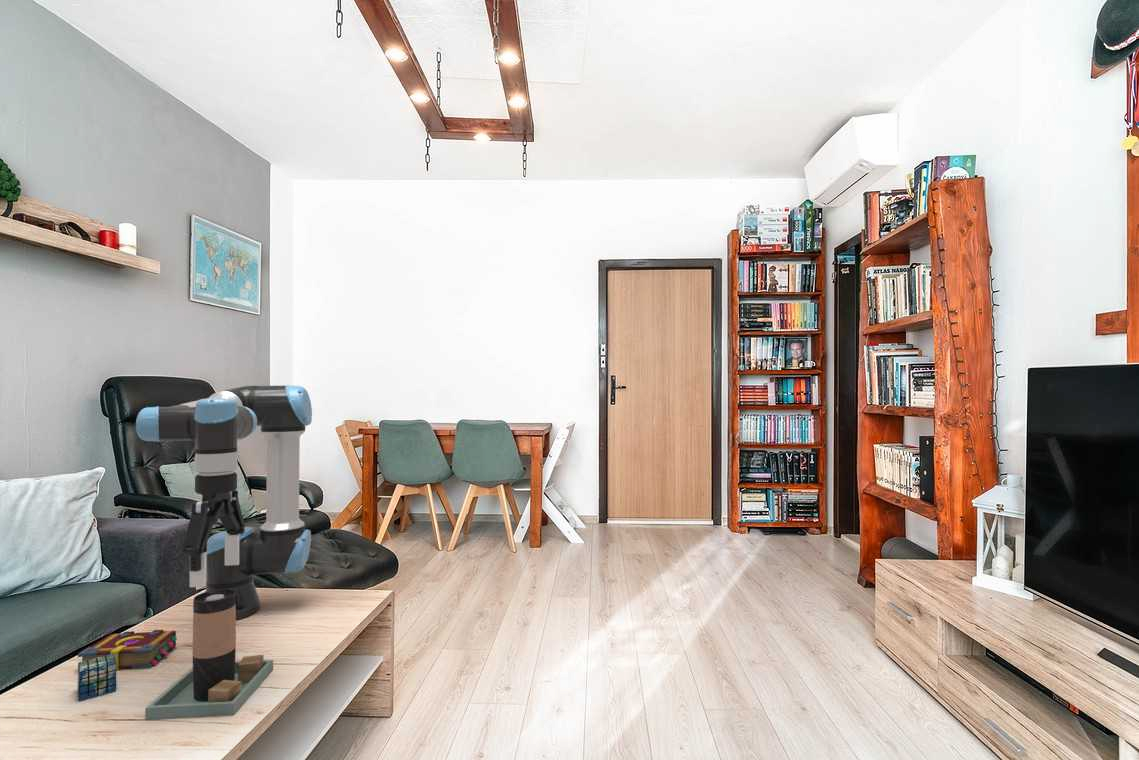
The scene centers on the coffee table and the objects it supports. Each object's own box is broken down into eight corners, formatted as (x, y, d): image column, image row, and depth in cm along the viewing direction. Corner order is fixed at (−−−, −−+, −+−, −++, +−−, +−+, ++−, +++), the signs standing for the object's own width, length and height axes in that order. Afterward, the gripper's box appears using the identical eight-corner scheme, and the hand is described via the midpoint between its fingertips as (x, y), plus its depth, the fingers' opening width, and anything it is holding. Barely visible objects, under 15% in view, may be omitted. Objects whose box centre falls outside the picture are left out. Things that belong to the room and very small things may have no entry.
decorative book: (110, 651, 140) (110, 630, 140) (182, 647, 142) (182, 627, 142) (77, 674, 129) (77, 651, 129) (155, 669, 131) (155, 647, 131)
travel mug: (215, 704, 114) (215, 603, 115) (182, 700, 116) (183, 600, 116) (244, 684, 122) (244, 589, 122) (213, 681, 123) (213, 587, 124)
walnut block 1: (223, 699, 116) (223, 679, 116) (241, 701, 115) (241, 681, 115) (208, 710, 112) (208, 689, 112) (226, 712, 111) (226, 691, 111)
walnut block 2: (243, 675, 126) (243, 656, 126) (263, 672, 127) (263, 654, 127) (238, 684, 122) (238, 665, 122) (258, 681, 123) (258, 662, 123)
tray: (197, 676, 127) (197, 663, 127) (273, 673, 128) (273, 659, 128) (145, 723, 109) (145, 707, 109) (233, 719, 110) (234, 703, 111)
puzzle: (116, 691, 121) (116, 662, 121) (78, 702, 117) (79, 672, 117) (113, 681, 125) (114, 653, 126) (77, 690, 121) (78, 662, 121)
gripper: (227, 464, 132) (226, 557, 131) (160, 483, 107) (159, 597, 107) (261, 464, 132) (261, 556, 132) (203, 482, 107) (202, 596, 107)
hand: (215, 575), depth 119 cm, fingers open, 13 cm apart
